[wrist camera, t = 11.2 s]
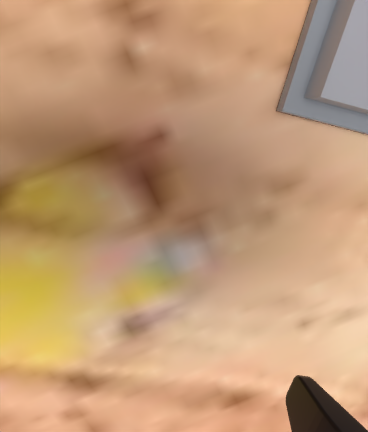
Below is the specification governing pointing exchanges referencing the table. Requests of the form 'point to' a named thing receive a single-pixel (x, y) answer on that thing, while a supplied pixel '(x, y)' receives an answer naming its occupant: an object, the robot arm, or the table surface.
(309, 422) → the robot arm
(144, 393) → the table surface
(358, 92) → the podium
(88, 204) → the table surface
